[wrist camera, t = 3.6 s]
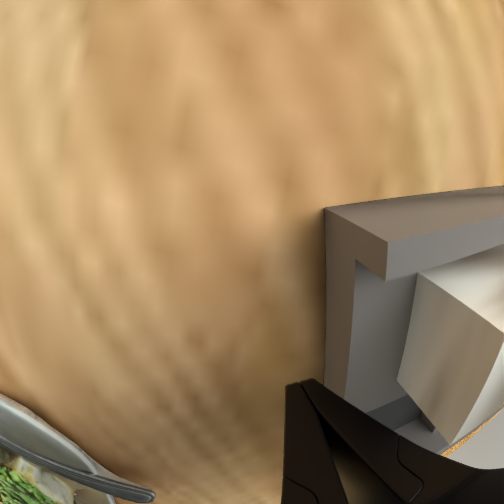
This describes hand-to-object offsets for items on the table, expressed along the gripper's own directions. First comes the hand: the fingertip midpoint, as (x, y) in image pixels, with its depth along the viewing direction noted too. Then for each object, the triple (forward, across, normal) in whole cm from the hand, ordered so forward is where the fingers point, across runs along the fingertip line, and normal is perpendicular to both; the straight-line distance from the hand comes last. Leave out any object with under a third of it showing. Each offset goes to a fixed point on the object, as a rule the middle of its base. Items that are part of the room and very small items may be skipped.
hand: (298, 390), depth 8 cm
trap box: (+3, -12, +4) cm, 12 cm away
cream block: (+1, -8, 0) cm, 8 cm away
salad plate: (+3, +19, +7) cm, 20 cm away
